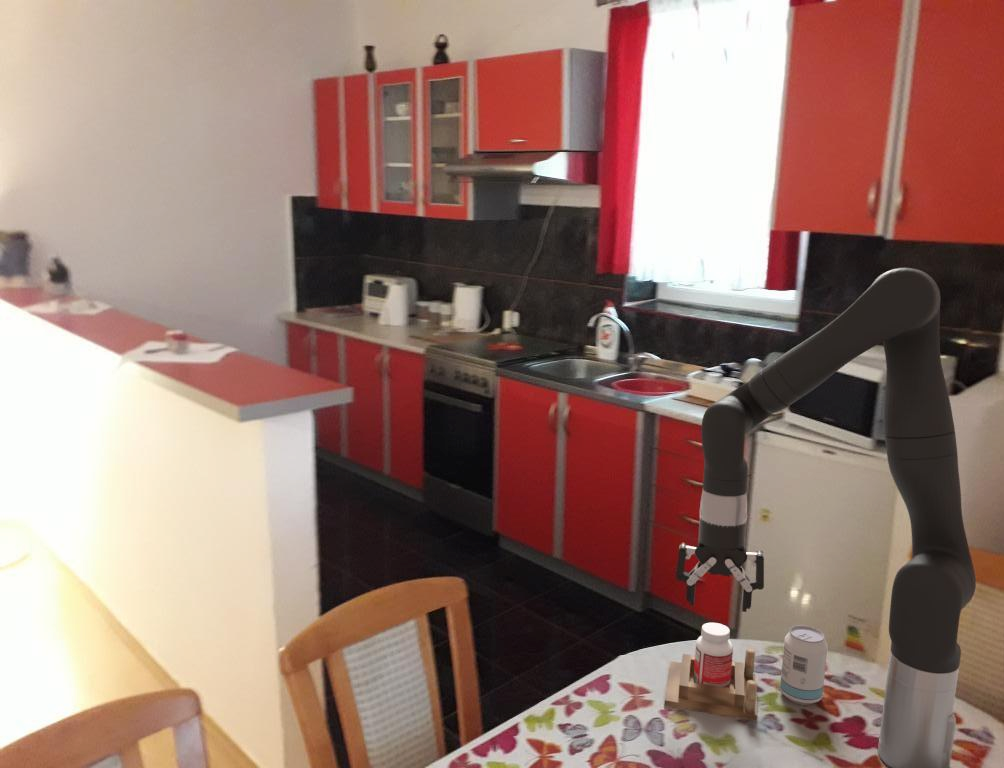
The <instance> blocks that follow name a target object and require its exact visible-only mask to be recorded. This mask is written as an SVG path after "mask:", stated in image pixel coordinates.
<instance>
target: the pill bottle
mask: <svg viewBox="0 0 1004 768" xmlns="http://www.w3.org/2000/svg"><path fill="white" fill-rule="evenodd" d="M700 634H701V635H699V636H698V638H697V639H696V642H695V651H694V652H695V653H694V654H695V655H694V656H695V666H694V683H699V684H706V685H712V686H718V687H724V688H730V680H731V667H732V661H733V653H734V652H733V651H734V646H733V643H732V642H731V641H730V638H731V636H730V635H731V630H730V628H729V627H728V626H727V625H724V624H722V623H718V622H707V623H703V624H702V626H701V630H700Z"/></svg>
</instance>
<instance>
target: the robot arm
mask: <svg viewBox="0 0 1004 768" xmlns="http://www.w3.org/2000/svg"><path fill="white" fill-rule="evenodd" d="M940 309H941V291H940V288H939V286H938V283H937V282H936V281H935V280H934V279H933V277H931V276H930V274H928V273H926V272H924V271H923V270H920V269H916V268H912V267H911V268H910V267H898V268H892V269H890V270H888V271H886V272H883V273H882V274H880V275H879V276H877V278H875V280H874V281H873V282H872V284H871V285H870V286H869V287H868V288H867V289H866V290H865V291H864V292H863V293H862V294H861V295H860V296H859V297H858V298H857V299H856V300H855V301H854V302H853V303H852V304H851V305H850V306H848V308H847V309H845V310H844V311H843V312H842V313H841V314H839V315H838V316H837V317H836V318H834V320H832V321H831V322H830V323H829V324H827V325H826V326H824V327H823V328H821V329H820V330H819V331H817V332H816V333H814V334H813V335H811V336H810V337H808V338H807V339H805V340H804V341H802V342H801V343H799V344H797V345H796V346H794V347H792V348H791V349H790V350H788V351H787V352H784V354H782V355H780V356H779V357H778V358H776V359H775V360H774V361H772V362H771V363H769V364H768V365H766V366H765V367H763V368H762V369H760V370H759V371H758V372H757V373H756V374H754V375H753V376H752V377H751V378H750V380H748V381H747V382H745V383H743V384H741V385H740V386H738V387H737V388H735V389H734V390H732V391H731V392H729V393H728V394H726V395H724V396H723V397H721V398H719V399H718V400H717V401H714V403H712V404H711V405H709V407H707V409H706V410H705V412H704V413H703V416H702V419H701V427H700V428H701V429H700V430H701V433H700V434H701V445H702V455H703V460H704V465H703V467H704V468H703V479H702V492H701V496H700V506H699V507H700V508H699V512H698V513H699V523H698V540H697V541H698V543H697V544H696V546H691V545H687V544H686V543H685V542H681V543H680V544H679V546H678V547H679V548H678V556H677V557H678V558H677V564H676V571H675V572H676V574H675V579H676V580H677V581H679V582H683V583H685V584H686V590H685V591H686V592H685V593H686V594H685V597H686V598H685V600H686V603H689V606H691V607H694V606H695V601H696V600H695V598H696V597H695V596H696V595H695V594H696V582H697V581H698V580H699V579H701V578H702V577H704V575H705V574H706V573H708V574H710V575H711V576H718V575H720V576H724V577H730V576H734V578H735V579H736V581H737V582H738V583H740V585H741V586H742V599H741V612H745V613H746V612H747V610H750V609H751V608H752V596H753V591H755V590H762V591H763V589H764V588H765V558H764V557H765V556H764V552H763V550H761V549H758V550H756V551H755V552H751V551H747V550H746V547H745V546H746V536H747V535H746V533H747V531H746V530H747V518H748V498H747V494H748V493H747V492H748V491H747V490H748V479H749V478H748V477H749V475H748V473H749V472H748V471H749V467H748V461H747V460H746V459H745V455H744V454H745V438H746V437H745V436H746V434H748V433H749V432H751V431H752V430H753V429H755V428H756V427H757V426H758V425H760V424H761V423H762V422H764V421H765V420H767V419H768V418H769V417H771V416H772V415H773V414H776V413H778V412H781V411H783V410H785V409H787V408H788V407H789V406H791V405H793V404H794V403H796V402H797V401H798V400H800V399H802V398H804V397H805V396H806V395H808V394H809V393H811V392H812V391H813V390H815V389H816V388H818V387H819V386H820V385H821V384H823V383H824V382H825V381H827V380H828V379H829V378H830V377H832V376H833V375H834V374H835V373H837V372H838V371H839V370H840V369H842V368H843V367H844V366H845V365H847V364H848V363H850V362H851V361H853V360H854V359H856V358H858V357H859V356H860V355H862V354H863V353H865V352H867V351H868V350H871V349H872V348H875V347H876V346H878V345H881V344H883V350H884V351H883V352H884V355H885V356H884V357H885V364H886V375H885V378H886V379H885V389H884V403H883V405H884V406H883V429H884V438H885V439H884V441H885V447H886V448H885V449H886V458H887V464H888V469H889V471H890V473H891V477H892V480H893V481H894V483H895V486H896V487H897V490H898V493H899V494H900V496H901V498H902V500H903V503H904V504H905V506H906V507H905V508H906V509H907V512H908V516H909V522H910V530H911V543H912V545H911V547H912V549H911V559H910V560H909V561H908V562H906V563H905V564H903V566H901V567H900V569H898V571H897V572H896V574H895V577H894V580H893V584H892V588H891V596H890V609H889V616H888V617H889V619H888V620H889V621H888V635H889V638H890V641H891V643H890V651H889V660H888V666H887V667H888V668H887V673H886V675H887V676H886V683H885V692H884V697H883V699H884V700H883V706H882V707H883V708H882V714H881V722H880V728H879V729H880V730H879V735H878V736H879V737H878V745H877V747H878V748H877V751H878V756H879V757H880V759H881V760H882V761H883V762H884V763H885V765H886V766H888V767H889V768H950V766H951V760H952V754H953V746H954V739H955V733H956V725H957V718H956V716H955V714H954V712H953V711H954V704H955V698H956V691H957V684H958V678H959V670H960V664H961V657H962V656H961V655H962V649H961V646H960V645H959V643H958V635H959V634H958V633H959V632H958V631H959V626H960V625H959V624H960V618H961V612H962V610H963V609H964V608H965V607H966V606H967V605H968V604H969V603H970V602H971V600H972V599H973V597H974V595H975V590H976V586H977V583H976V582H977V579H976V574H975V573H976V572H975V568H974V565H973V559H972V555H971V552H970V547H969V544H968V538H967V534H966V530H965V525H964V519H963V512H962V511H963V509H962V494H961V492H962V491H961V490H962V489H961V483H960V482H961V481H960V480H961V479H960V473H959V458H958V457H959V456H958V455H959V454H958V446H957V438H956V431H955V430H956V428H955V423H954V418H953V411H952V405H951V402H950V401H951V400H950V396H949V391H948V387H947V382H946V379H945V375H944V374H945V373H944V370H943V365H942V359H941V350H940V349H941V348H940V347H941V345H940V342H941V341H940V340H941V338H940V320H941V319H940V318H941V314H940V313H941V310H940ZM692 555H695V557H696V558H697V560H698V562H697V563H696V565H695V566H694V567H693V568H692V570H691V571H690V572H687V571H685V568H686V567H685V565H686V560H690V559H691V556H692ZM747 560H748V561H750V564H751V565H752V566H753V567H755V578H752V579H750V578H749V575H747V573H746V571H745V569H744V568H743V567H742V566H743V565H744V564H745V563H746V562H747Z"/></svg>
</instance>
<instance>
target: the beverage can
mask: <svg viewBox="0 0 1004 768" xmlns="http://www.w3.org/2000/svg"><path fill="white" fill-rule="evenodd" d="M783 643H784V644H783V654H782V664H781V673H780V674H781V675H780V682H779V690H780V692H781V693H782V694H783V696H785V697H786V698H787V699H788V700H789V701H790V702H792V703H794V704H797V705H800V706H811V705H814V704H816V703H819V702H820V701H821V700H822V699H823V693H824V686H825V685H824V684H825V677H826V667H827V665H826V664H827V658H828V657H827V656H828V646H829V645H828V643H827V641H826V639H825V634H824V633H823V632H822V631H821V630H819V629H818V628H816V627H812V626H809V625H800V624H799V625H794V626H792V627H790V629H789V631H788V633H787V634H786V636H785V637H784V641H783Z"/></svg>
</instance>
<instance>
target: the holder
mask: <svg viewBox="0 0 1004 768" xmlns="http://www.w3.org/2000/svg"><path fill="white" fill-rule="evenodd" d="M755 659H756V650H755V649H753V648H746V649H745V657H744V662H739V661H734V660H732V667H731V680H730V688H724V687H718V686H712V685H706V684H699V683H694V666H695V655H693V654H686V653H682V656H681V662H680V661H679V662H678V661H674V660H673V661H672V660H670V661H669V667H668V674H667V681H666V687H665V688H666V689H665V696H664V702H663V703H664V706H665V707H669V708H670V707H671V708H675V709H676V708H677V709H683V710H689V711H695V712H701V713H708V714H713V715H718V716H724V717H731V718H737V719H742V720H749V721H755V722H758V703H757V702H758V701H757V700H758V699H757V689H758V682H757V681H756V674H755V672H754V671H755Z"/></svg>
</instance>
